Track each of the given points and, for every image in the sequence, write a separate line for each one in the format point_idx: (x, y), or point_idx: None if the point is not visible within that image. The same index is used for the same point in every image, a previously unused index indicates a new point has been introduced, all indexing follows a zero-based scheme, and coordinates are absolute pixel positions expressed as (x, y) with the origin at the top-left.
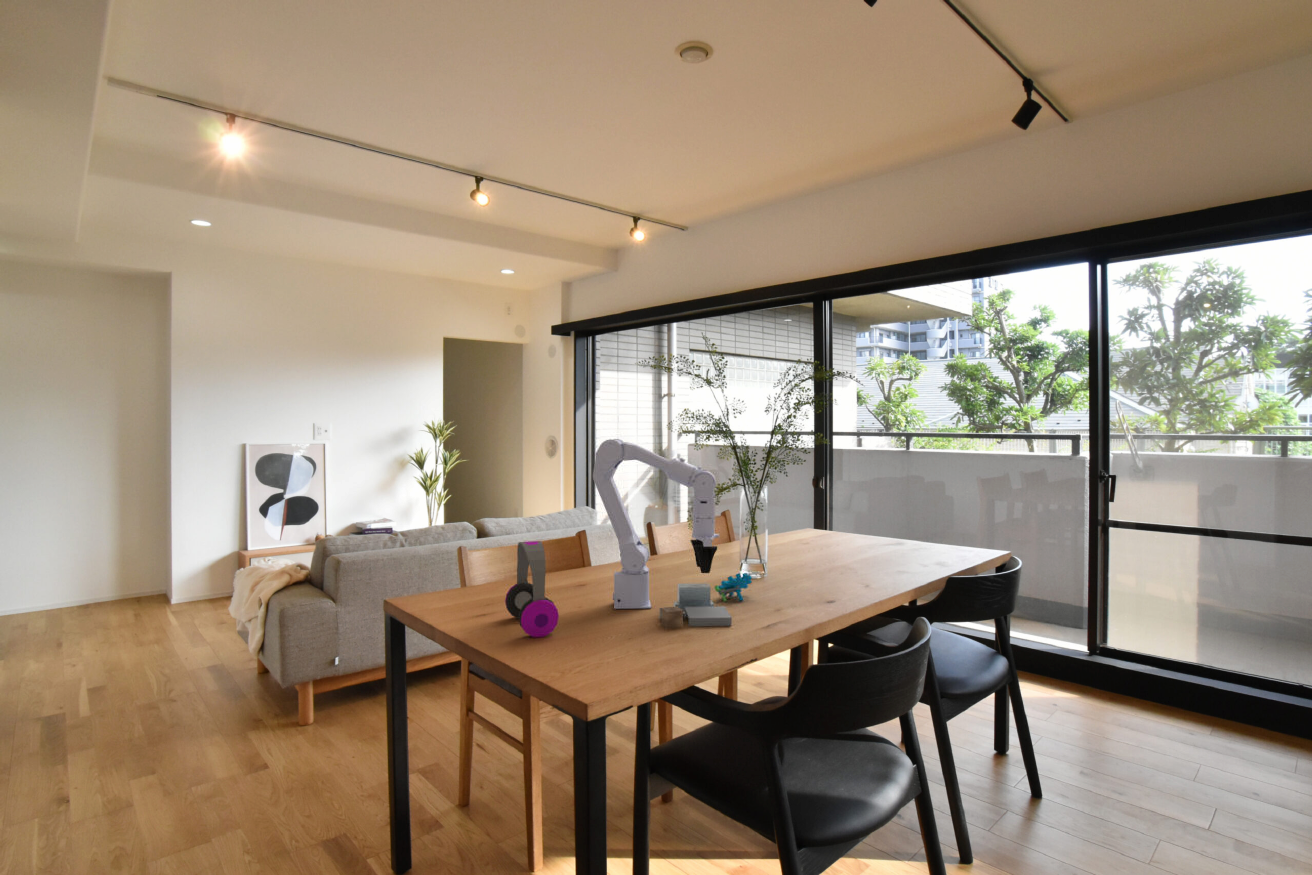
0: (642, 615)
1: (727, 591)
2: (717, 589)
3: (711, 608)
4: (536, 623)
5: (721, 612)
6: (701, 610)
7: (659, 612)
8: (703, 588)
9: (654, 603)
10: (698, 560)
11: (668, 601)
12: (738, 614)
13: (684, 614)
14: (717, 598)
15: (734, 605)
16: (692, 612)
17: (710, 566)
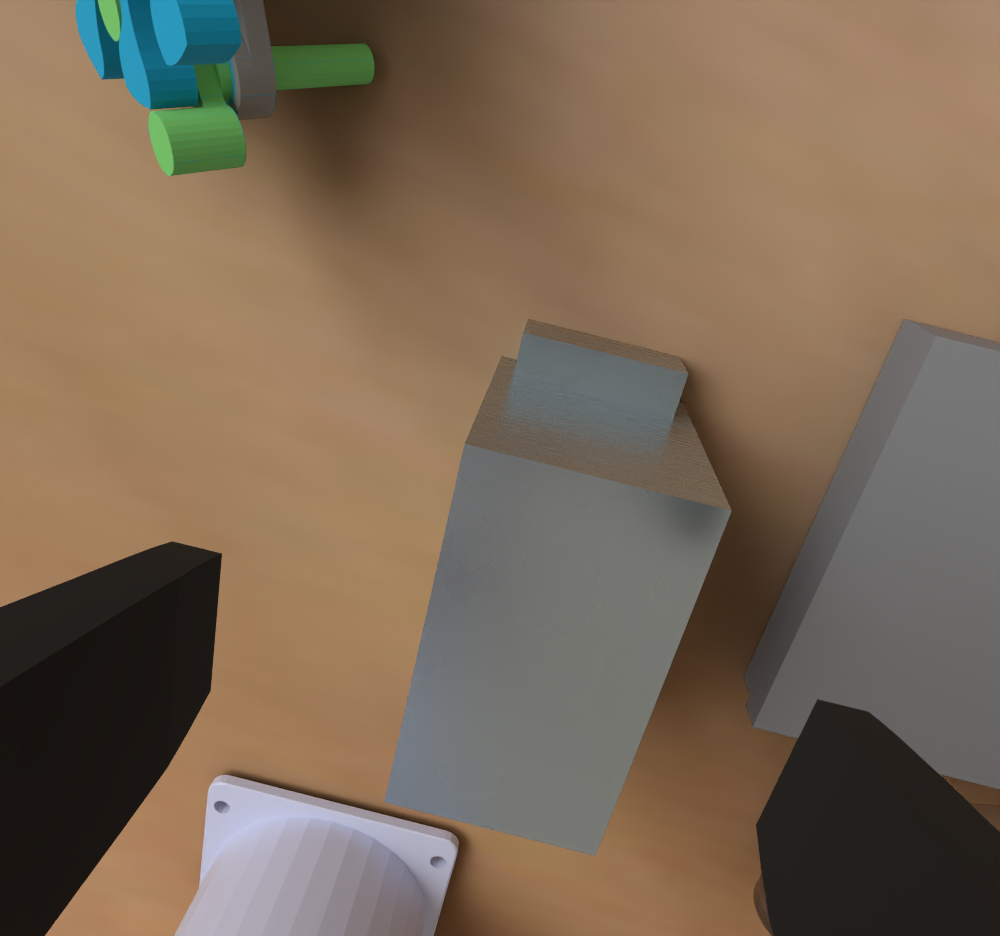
0: (620, 924)
1: None
2: (239, 148)
3: (940, 516)
4: None
5: None
6: (960, 639)
7: (763, 908)
8: (693, 593)
9: (296, 754)
10: (133, 779)
11: (247, 639)
12: (977, 149)
13: None
14: None
15: (566, 14)
16: (984, 738)
17: (976, 825)
